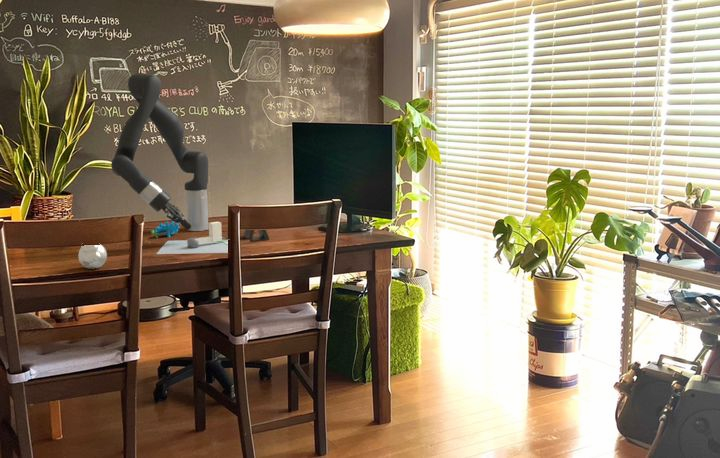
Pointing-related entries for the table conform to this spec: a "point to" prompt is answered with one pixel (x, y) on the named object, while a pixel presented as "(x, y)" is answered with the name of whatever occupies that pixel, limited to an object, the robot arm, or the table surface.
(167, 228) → the blue toy animal
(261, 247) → the table surface
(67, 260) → the table surface
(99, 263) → the grey round ball
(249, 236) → the door stopper
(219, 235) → the white l-shaped block
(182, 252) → the board
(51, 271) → the table surface
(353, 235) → the table surface
